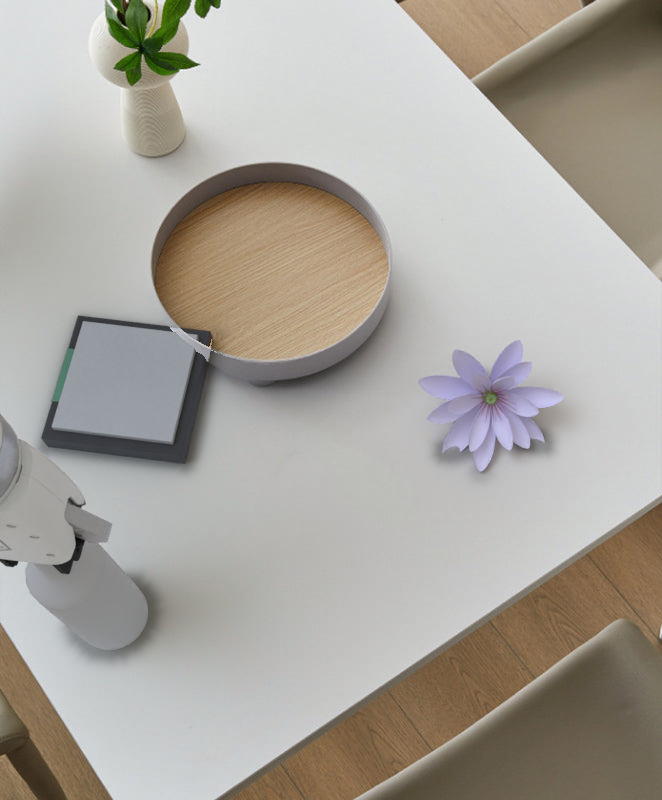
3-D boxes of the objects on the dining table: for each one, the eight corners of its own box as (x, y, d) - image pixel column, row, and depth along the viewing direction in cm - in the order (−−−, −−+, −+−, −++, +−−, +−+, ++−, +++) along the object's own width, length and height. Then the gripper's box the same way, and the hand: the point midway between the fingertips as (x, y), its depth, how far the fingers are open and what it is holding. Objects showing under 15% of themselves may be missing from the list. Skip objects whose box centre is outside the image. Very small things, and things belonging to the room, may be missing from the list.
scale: (48, 448, 102) (38, 435, 99) (84, 327, 108) (75, 311, 105) (185, 465, 101) (179, 452, 98) (214, 342, 107) (209, 327, 104)
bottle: (102, 666, 93) (-4, 587, 68) (64, 610, 95) (-51, 513, 70) (163, 621, 95) (83, 528, 69) (125, 567, 97) (34, 458, 72)
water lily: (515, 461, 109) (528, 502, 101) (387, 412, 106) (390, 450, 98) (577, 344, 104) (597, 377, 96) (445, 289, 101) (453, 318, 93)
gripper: (-219, 500, 57) (-82, 586, 73) (71, 538, 56) (142, 615, 73) (-170, 381, 60) (-49, 488, 76) (105, 415, 59) (166, 516, 76)
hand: (43, 549), depth 74 cm, fingers open, 3 cm apart
